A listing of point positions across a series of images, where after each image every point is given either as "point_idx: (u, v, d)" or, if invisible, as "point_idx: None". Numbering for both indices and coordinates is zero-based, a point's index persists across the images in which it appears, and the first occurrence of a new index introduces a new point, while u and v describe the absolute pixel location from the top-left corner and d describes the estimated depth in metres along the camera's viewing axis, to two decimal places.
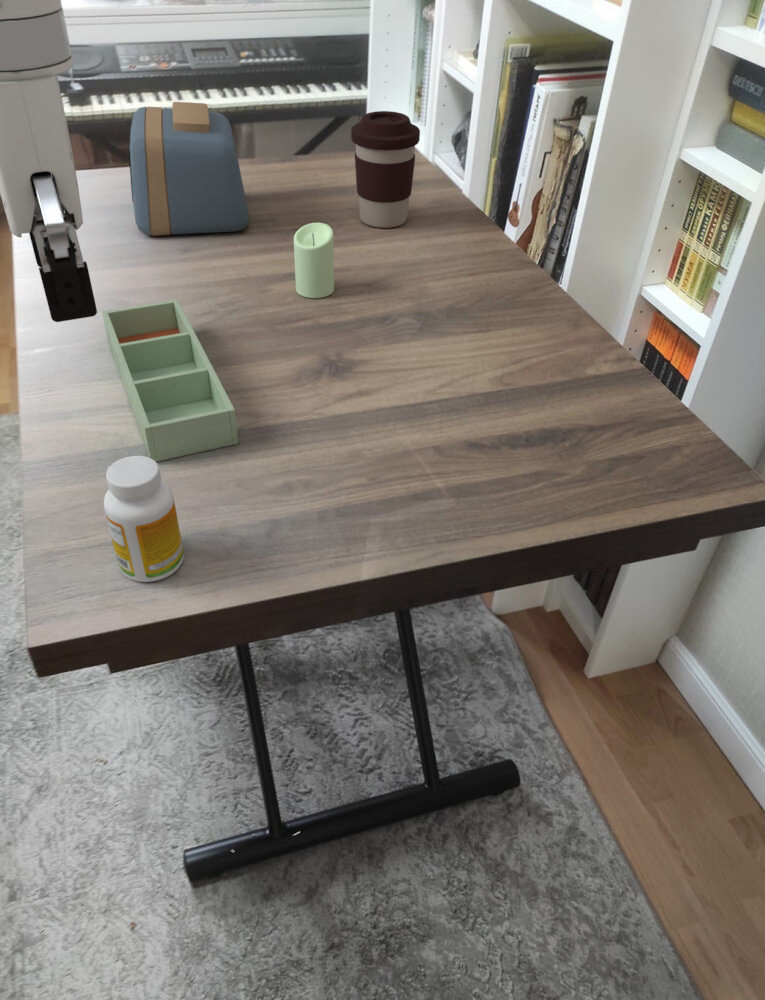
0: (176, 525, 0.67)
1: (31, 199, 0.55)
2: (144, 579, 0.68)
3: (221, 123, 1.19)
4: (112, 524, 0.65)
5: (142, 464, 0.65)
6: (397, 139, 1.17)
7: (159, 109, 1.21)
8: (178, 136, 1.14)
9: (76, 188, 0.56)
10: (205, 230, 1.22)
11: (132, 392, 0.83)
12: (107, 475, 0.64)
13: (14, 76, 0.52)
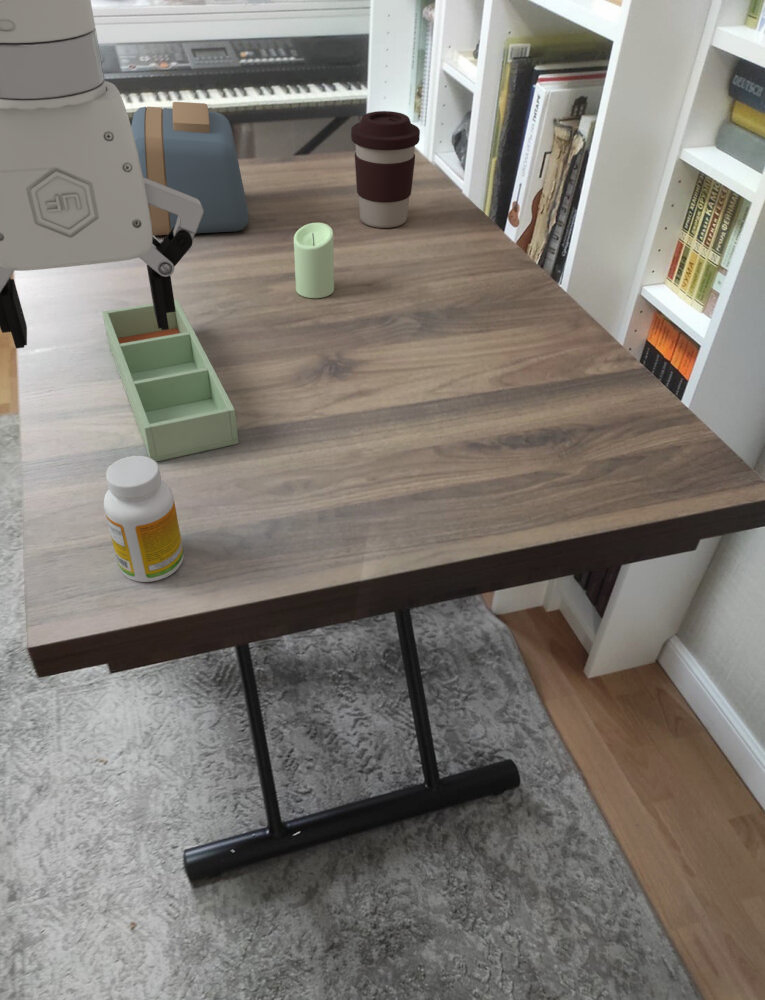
0: (176, 525, 0.67)
1: None
2: (144, 579, 0.68)
3: (221, 123, 1.19)
4: (112, 524, 0.65)
5: (142, 464, 0.65)
6: (397, 138, 1.17)
7: (159, 109, 1.21)
8: (178, 136, 1.14)
9: None
10: (205, 230, 1.22)
11: (132, 392, 0.83)
12: (107, 475, 0.64)
13: (105, 85, 0.50)
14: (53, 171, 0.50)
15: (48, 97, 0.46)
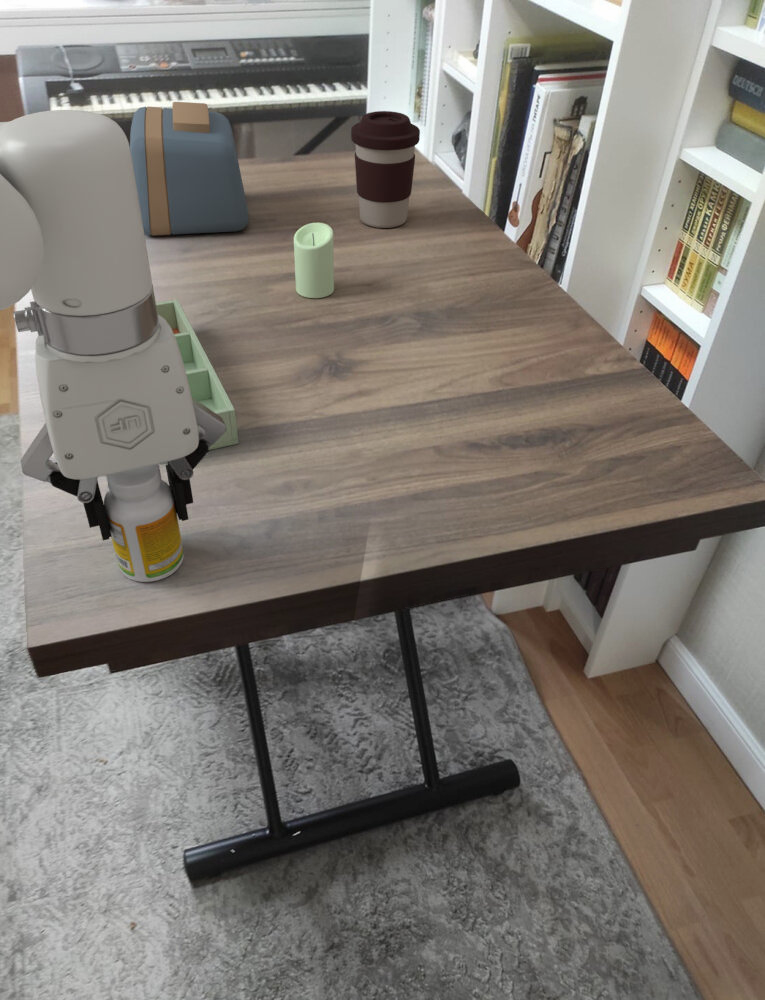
0: (176, 525, 0.67)
1: None
2: (144, 579, 0.68)
3: (221, 123, 1.19)
4: (112, 524, 0.65)
5: None
6: (397, 139, 1.17)
7: (159, 109, 1.21)
8: (178, 136, 1.14)
9: None
10: (205, 230, 1.22)
11: None
12: (107, 475, 0.64)
13: (159, 323, 0.57)
14: (117, 401, 0.57)
15: (118, 351, 0.54)
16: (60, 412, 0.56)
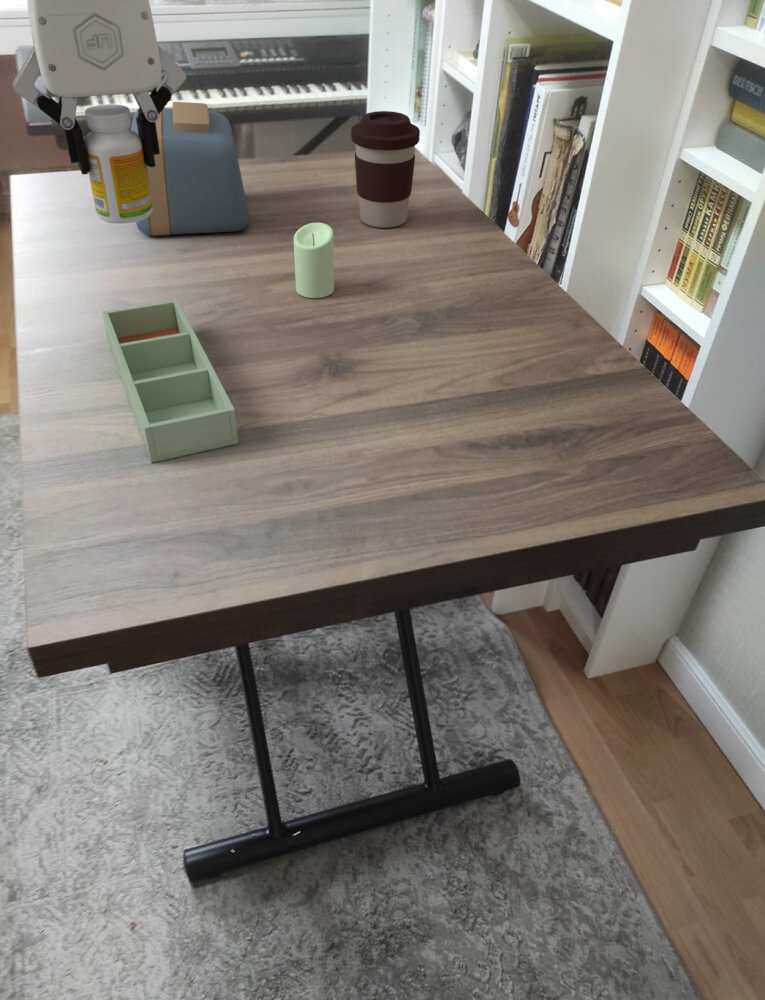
0: (145, 172, 0.80)
1: None
2: (117, 219, 0.80)
3: (221, 123, 1.19)
4: (90, 159, 0.77)
5: (115, 107, 0.77)
6: (397, 138, 1.17)
7: None
8: (178, 136, 1.14)
9: None
10: (205, 230, 1.22)
11: (132, 392, 0.83)
12: (86, 111, 0.76)
13: None
14: (92, 16, 0.69)
15: None
16: (44, 19, 0.68)
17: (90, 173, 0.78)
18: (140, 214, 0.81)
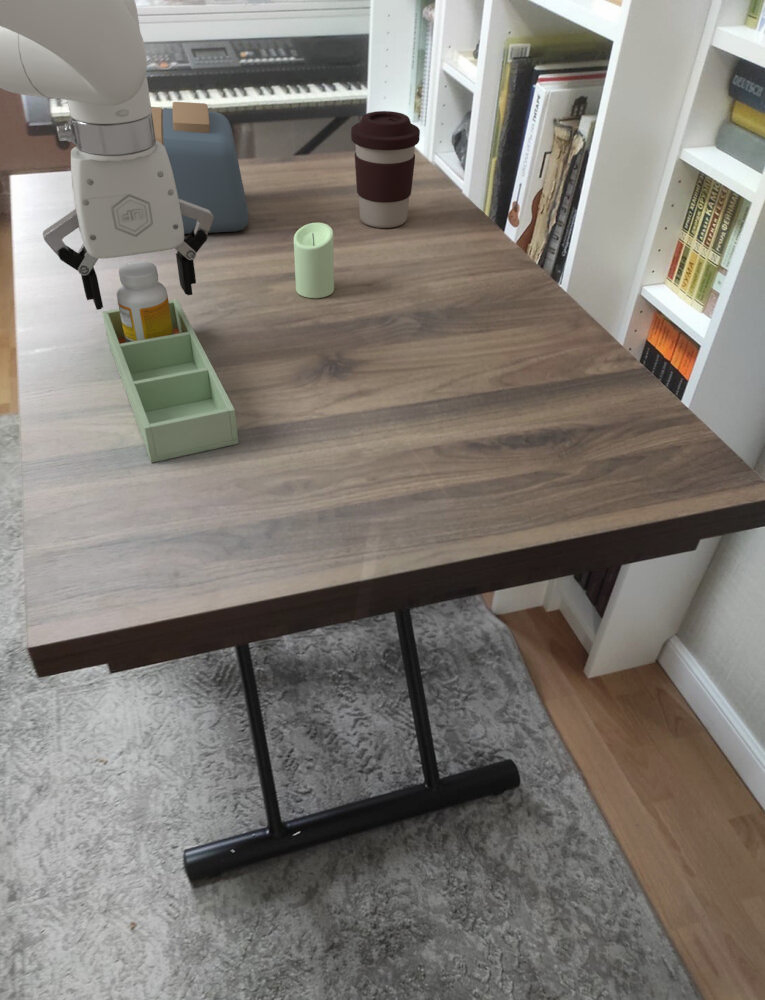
0: (169, 316, 0.93)
1: (180, 214, 0.87)
2: None
3: (221, 123, 1.19)
4: (123, 309, 0.90)
5: (144, 265, 0.90)
6: (397, 138, 1.17)
7: (159, 109, 1.21)
8: (178, 136, 1.14)
9: None
10: None
11: (132, 392, 0.83)
12: (119, 271, 0.89)
13: (156, 143, 0.82)
14: (127, 196, 0.82)
15: (128, 153, 0.79)
16: (87, 201, 0.81)
17: (122, 319, 0.92)
18: None
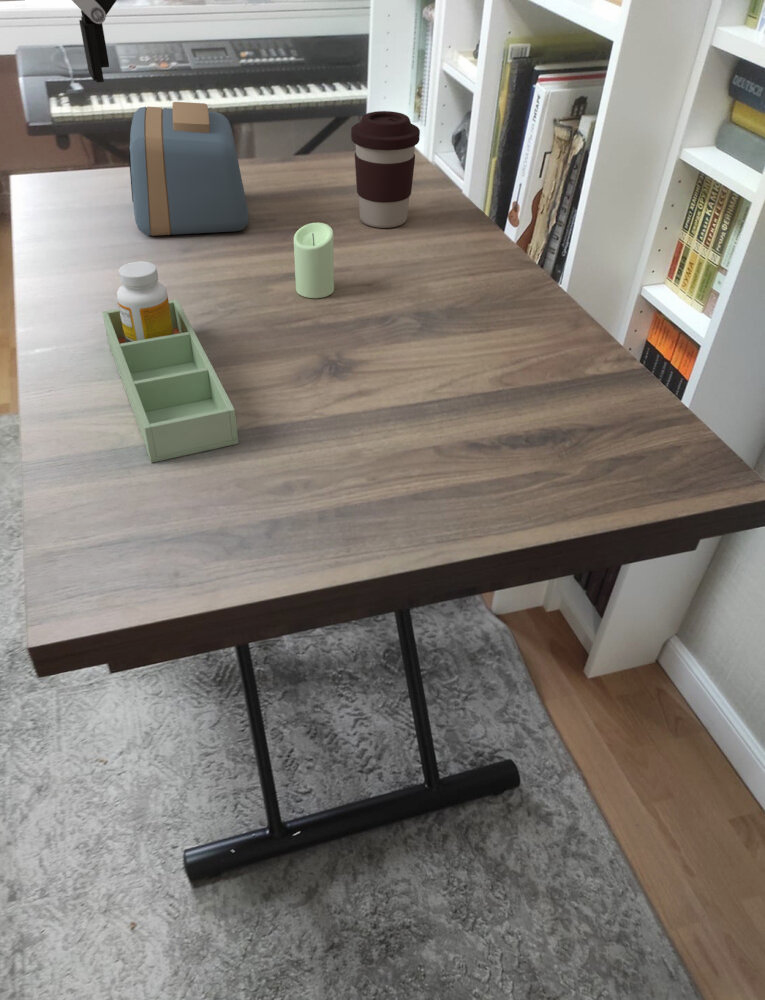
0: (169, 316, 0.93)
1: None
2: None
3: (221, 123, 1.19)
4: (123, 309, 0.90)
5: (144, 265, 0.90)
6: (397, 138, 1.17)
7: (159, 109, 1.21)
8: (178, 136, 1.14)
9: None
10: (205, 230, 1.22)
11: (132, 392, 0.83)
12: (119, 271, 0.89)
13: None
14: None
15: None
16: None
17: (122, 319, 0.92)
18: None
